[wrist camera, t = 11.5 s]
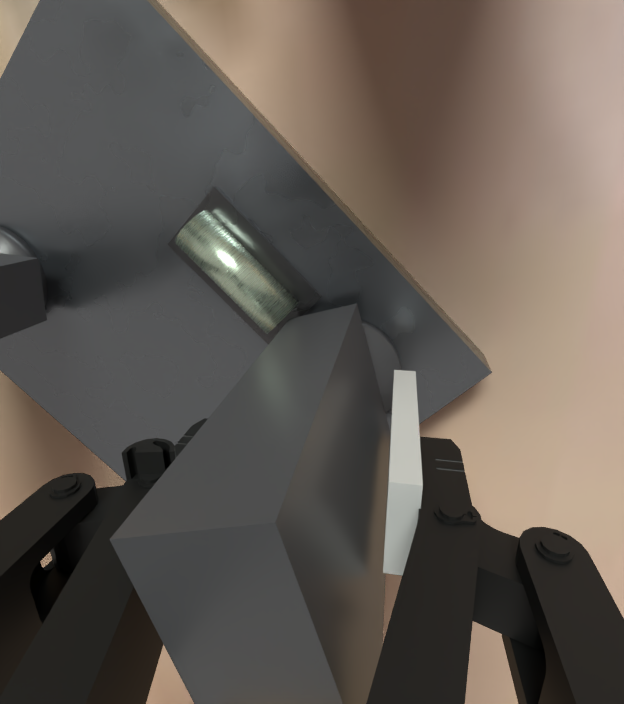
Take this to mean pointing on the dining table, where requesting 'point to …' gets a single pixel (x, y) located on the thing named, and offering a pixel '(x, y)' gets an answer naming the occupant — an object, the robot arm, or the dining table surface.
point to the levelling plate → (176, 233)
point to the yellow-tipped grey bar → (20, 285)
